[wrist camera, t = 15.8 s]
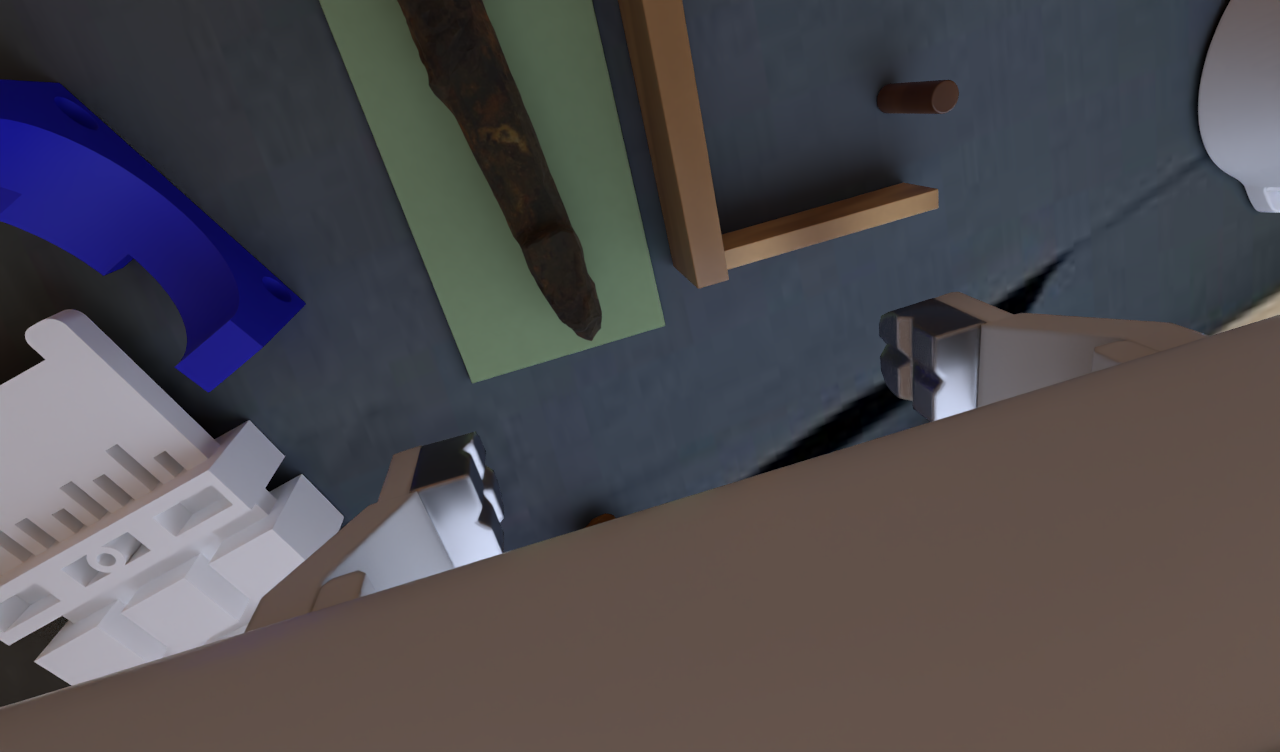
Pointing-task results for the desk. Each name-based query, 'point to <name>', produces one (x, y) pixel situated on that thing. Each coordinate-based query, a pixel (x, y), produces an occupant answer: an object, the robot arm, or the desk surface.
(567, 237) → the hand tool
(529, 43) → the mat
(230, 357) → the cable clip
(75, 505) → the organizer
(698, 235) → the tool rack
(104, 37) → the desk surface
